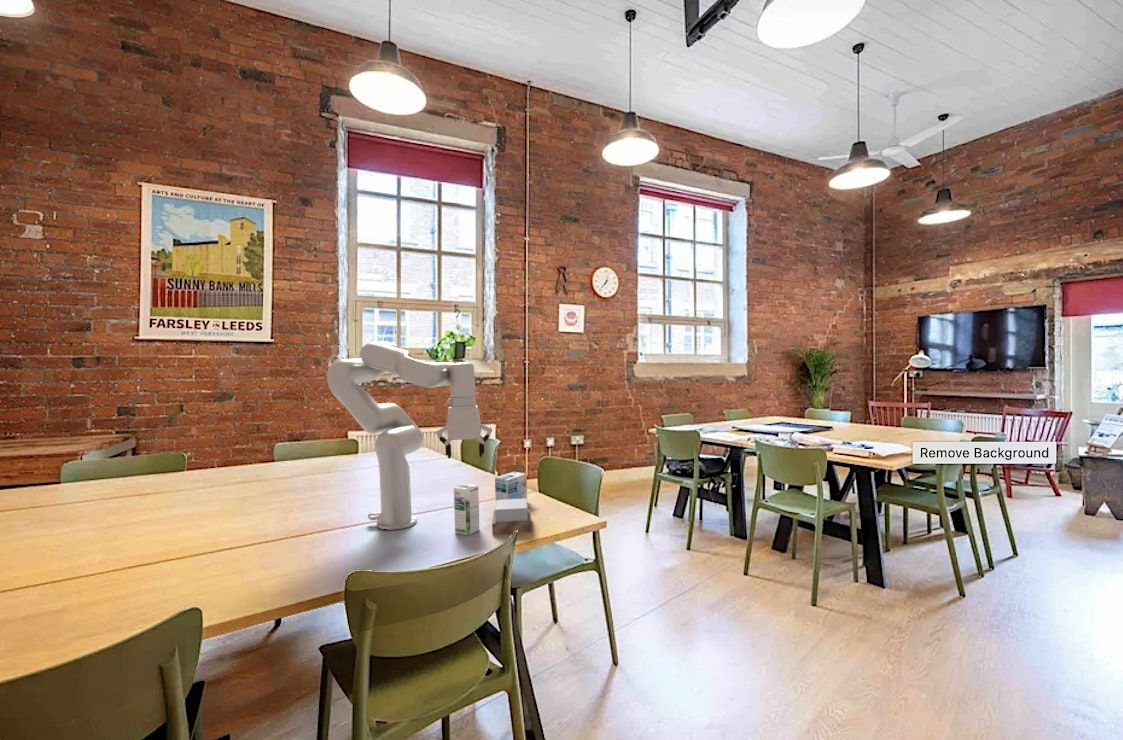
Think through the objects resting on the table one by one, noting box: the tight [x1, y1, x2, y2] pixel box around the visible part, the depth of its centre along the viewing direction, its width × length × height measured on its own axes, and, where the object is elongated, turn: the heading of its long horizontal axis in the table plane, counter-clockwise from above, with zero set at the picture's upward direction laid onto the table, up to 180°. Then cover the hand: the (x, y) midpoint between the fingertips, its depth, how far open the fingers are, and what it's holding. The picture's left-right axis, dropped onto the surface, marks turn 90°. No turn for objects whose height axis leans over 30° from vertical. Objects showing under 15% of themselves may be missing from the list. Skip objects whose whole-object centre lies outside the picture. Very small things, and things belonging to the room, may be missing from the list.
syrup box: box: [453, 483, 480, 537], centre depth 156 cm, size 6×6×14 cm
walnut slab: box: [491, 508, 532, 536], centre depth 160 cm, size 12×12×4 cm
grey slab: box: [494, 497, 528, 522], centre depth 159 cm, size 10×10×4 cm
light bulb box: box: [494, 471, 528, 501], centre depth 182 cm, size 11×7×11 cm, turn 143°
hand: (465, 456), depth 155 cm, fingers open, 9 cm apart
